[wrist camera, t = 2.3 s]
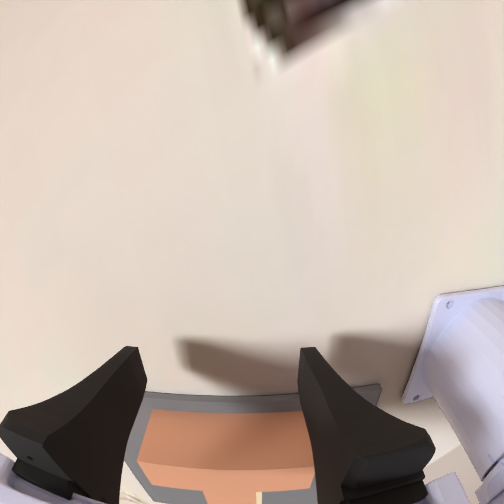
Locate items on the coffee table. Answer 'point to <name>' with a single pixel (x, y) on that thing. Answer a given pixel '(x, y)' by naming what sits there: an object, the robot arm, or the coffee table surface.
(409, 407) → the coffee table surface
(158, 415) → the rust T block
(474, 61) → the coffee table surface
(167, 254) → the coffee table surface
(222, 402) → the charcoal mat
